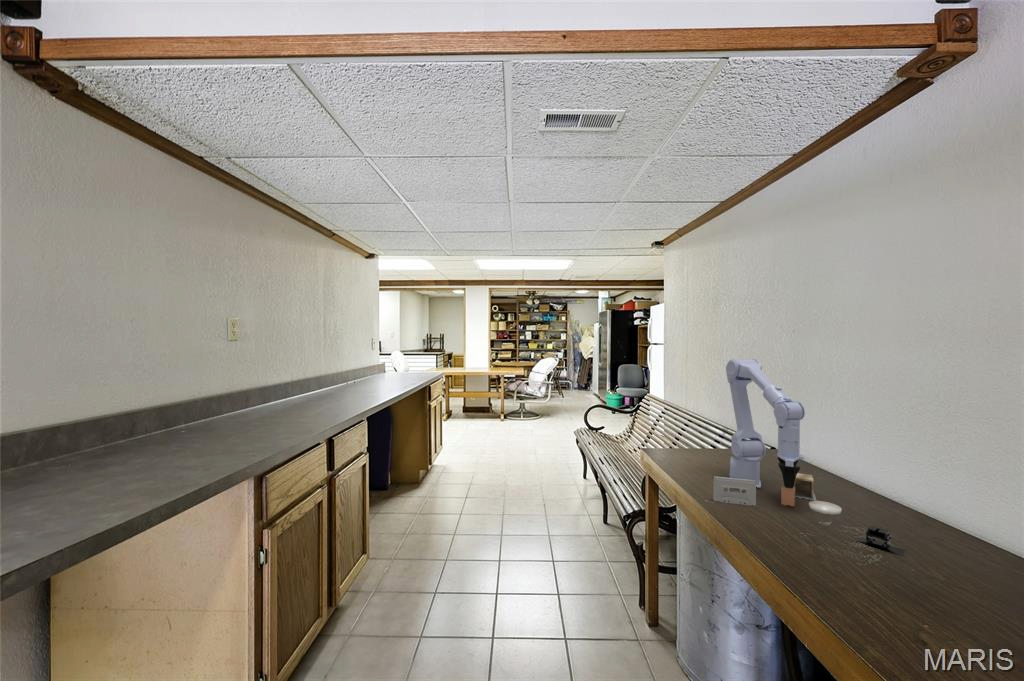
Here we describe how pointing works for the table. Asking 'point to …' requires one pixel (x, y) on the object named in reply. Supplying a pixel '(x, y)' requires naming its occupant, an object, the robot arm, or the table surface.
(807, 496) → the pad
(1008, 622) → the table surface
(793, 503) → the block
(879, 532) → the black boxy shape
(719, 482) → the cassette
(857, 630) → the table surface
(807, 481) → the beige open box
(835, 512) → the dish
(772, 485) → the table surface
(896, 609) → the table surface
